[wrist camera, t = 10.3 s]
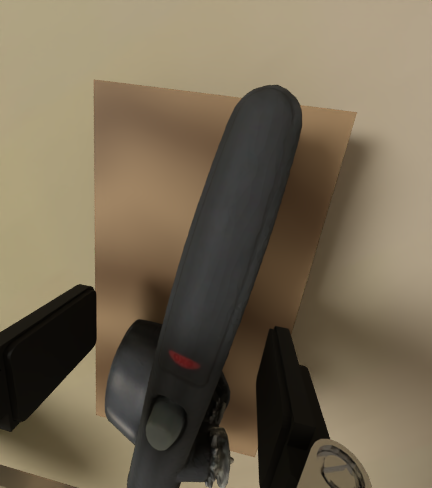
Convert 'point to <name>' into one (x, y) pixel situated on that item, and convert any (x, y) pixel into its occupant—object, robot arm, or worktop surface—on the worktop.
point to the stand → (180, 218)
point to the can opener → (205, 304)
